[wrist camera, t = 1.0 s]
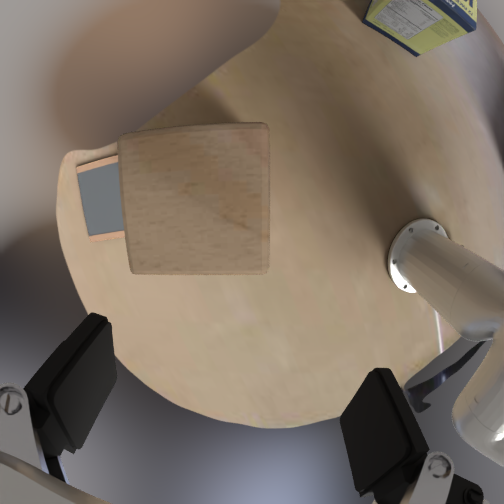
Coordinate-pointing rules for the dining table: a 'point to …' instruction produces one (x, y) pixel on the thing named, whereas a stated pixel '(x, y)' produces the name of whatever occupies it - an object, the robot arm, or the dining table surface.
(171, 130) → the wooden block
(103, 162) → the slate mat
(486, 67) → the dining table surface
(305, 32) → the dining table surface
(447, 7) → the protein box
